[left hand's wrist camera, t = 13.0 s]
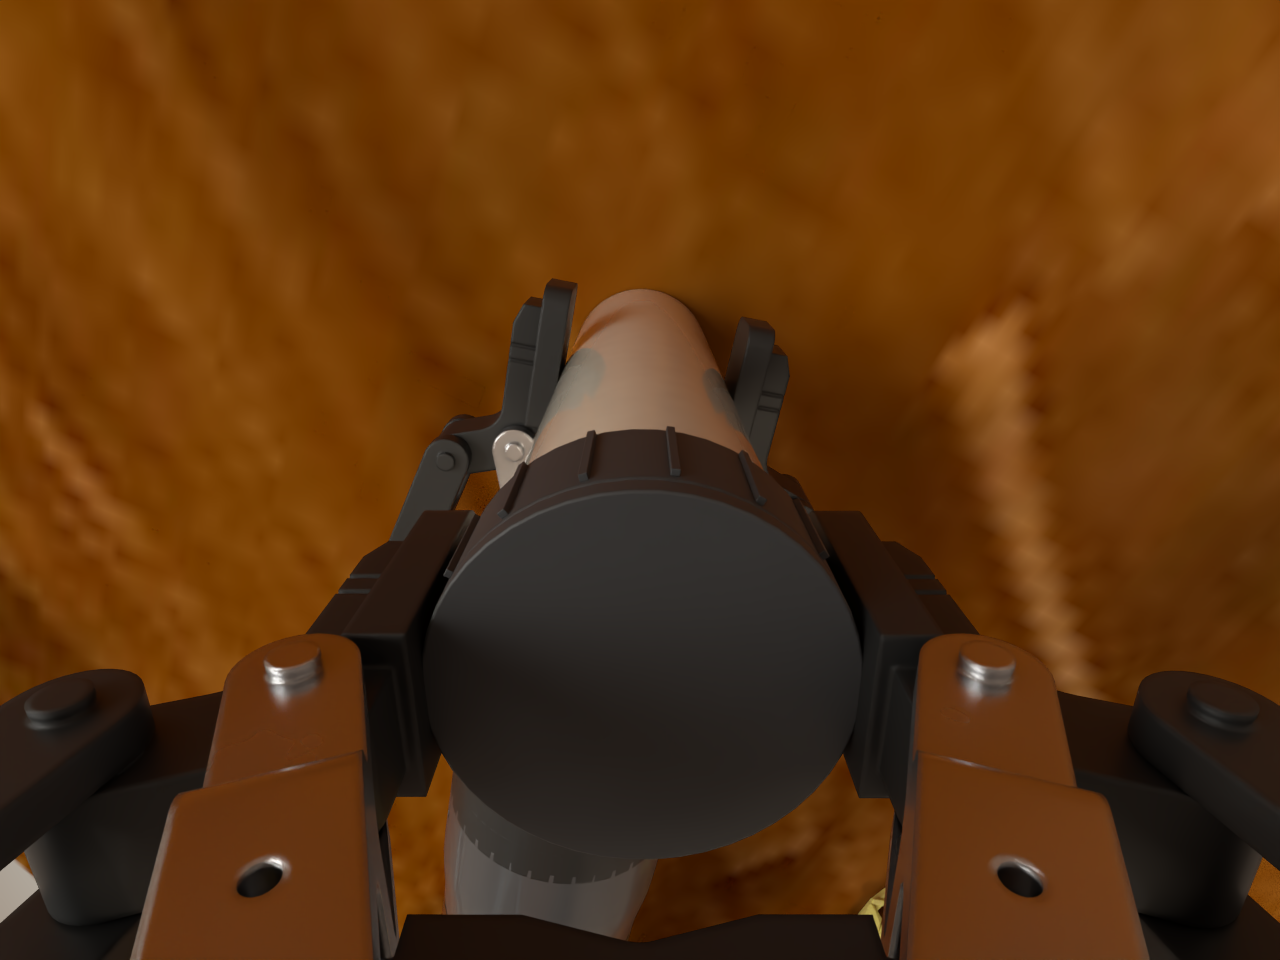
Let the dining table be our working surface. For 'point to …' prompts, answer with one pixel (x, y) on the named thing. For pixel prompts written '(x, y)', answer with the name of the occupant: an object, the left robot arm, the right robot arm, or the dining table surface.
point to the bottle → (641, 378)
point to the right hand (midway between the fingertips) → (659, 306)
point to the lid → (642, 649)
